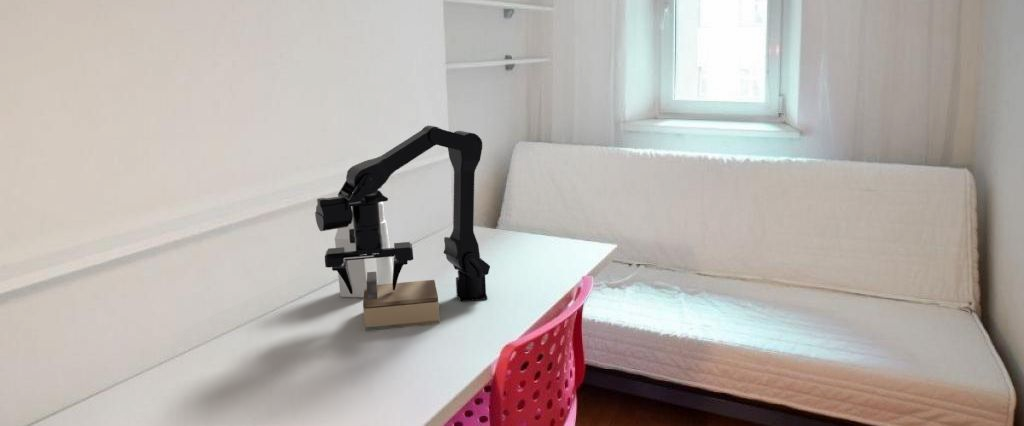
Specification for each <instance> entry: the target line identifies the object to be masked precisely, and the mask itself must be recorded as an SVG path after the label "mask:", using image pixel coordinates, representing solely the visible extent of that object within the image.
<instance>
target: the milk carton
mask: <svg viewBox="0 0 1024 426" xmlns="http://www.w3.org/2000/svg"><path fill="white" fill-rule="evenodd" d="M349 229H354V225H353V220H352V222H351V224H349V225H348V227H344V228H338V229H336V234H335V236H334V242H335V244H334V245H335V248H341V247H344V249H345V252H349V251H356V247H355V243H350V237H349ZM365 255H367V254H365ZM347 263H348V270H349V274H350V279H351V283H352V290H353V294H350V292H349V290H348V288H347V286H346V284H345V282H344V280H343V279H342V277H341V276H340V274H339V273H338V272H337V274H338V284H339V293H340V294H339V295H340V297H341V298H359V299H360V298H361V299H362V298H364V286H367V283H366V282H367V272H376V275H377V266H376V258H370V259H358V260H347ZM377 285H378V278H377Z"/></svg>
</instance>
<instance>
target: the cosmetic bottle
mask: <svg viewBox="0 0 1024 426" xmlns="http://www.w3.org/2000/svg"><path fill="white" fill-rule="evenodd" d="M384 205H385V204H384V202H379V214H380V226H381V235H382V243H383V247H382V249H385V248H391V246H390V238H389V229H388V223H387V220H386V219H385V208H384ZM377 254H379V253H377ZM376 266H377V278H378V285H381V284H392V280H393V260H392V257H381V258H376Z"/></svg>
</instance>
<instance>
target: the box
mask: <svg viewBox="0 0 1024 426" xmlns="http://www.w3.org/2000/svg"><path fill="white" fill-rule="evenodd" d="M439 306H440V305H439V300H438V301H430V302H419V303H408V304H398V305H387V306H376V307H366V308H363V310H362V311H363V319H364V321H363V322H364V329H365V330H364V331H365V332H367V331H368V332H369V331H375V330H377V331H378V330H386V329H397V328H398V329H399V328H407V327H417V326H428V325H437V324H441V322H440V309H439V308H440V307H439Z"/></svg>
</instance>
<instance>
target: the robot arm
mask: <svg viewBox="0 0 1024 426" xmlns="http://www.w3.org/2000/svg"><path fill="white" fill-rule="evenodd" d="M435 146H440V147H443V148H447V152H448V158H449V160H450V163H451V166H452V168H453V214H452V215H453V220H452V221H453V222H452V223H453V224H452V225H453V226H452V227H453V229H452V232H451V234H450V236H445V237H444V238H443V239H444V241H443V242H444V250H443V254H444V255H445V257H446V259H447V261H448V262H449V263H450V264H451V265H452V266H453V268H454V270H456V271H457V277H455V288H456V289H455V291H456V296H457V297H458V298H459V301H460V302H472V301H479V300H487V299H488V295H487V284H486V276H487V275H489V273H490V267H491V266H490V264H489V263H487V262H486V261H485V260H483V259H482V258H481V255H480V254H481V253H480V247H479V243H478V240H477V238H476V235H475V233H474V225H475V224H474V222H475V221H474V220H475V219H474V218H475V216H474V215H475V211H474V210H475V177H476V176H475V172H476V169H477V168H478V165H479V163H480V161H481V157H482V153H483V151H482V150H483V141H482V138H480V136H479V135H477V134H476V133H473V132H467V131H464V130H456V131H454V132H453V131H449V130H446V129H443V128H440V127H439V126H434V125H426V126H424V127H423V128H422V129H421V130H419V131H418V132H416V133H415V134H413V135H411V137H409V138H407V139H406V140H404V141H402V142H401V143H399V144H397V145H396V146H394V147H393V148H391V149H390V150H388V151H386V152H385V153H384V154H382V155H380V156H378V157H375V158H370V159H367V160H364V161H362V162H359V163H358V164H355V165H353V166H351V167H350V168H349V169H348V170H347V173H346V175H345V178H346V180H345V181H344V183H343V184H342V187H341V188H340V190H339V192H338V194H337V196H334V197H328V198H327V197H320V198H317V199H316V201H317V204H316V207H315V212H314V216H315V222H316V225H317V228H318V230H319V231H320V232H325V231H331V230H337V229H338V228H344V227H348V225H349V224H351V222H352V220H353V225H354V229H349V237H350V243H355V247H356V251H349V252H345V249H344V247H341V248H336V247H332V248H328V249H327V250H326V251H325V254H324V265H325V268H331V270H332V271H334V272H335V271H336V272H337V274H338V273H339V274H340V276H341V277H342V279H343V280H344V282H345V284H346V286H347V288H348V290H349V292H350V294H353V290H352V283H351V279H350V274H349V270H348V263H347V260H358V259H370V258H381V257H391V258H392V257H393V262H392V265H393V280H392V284H393V290H395V287H396V283H398V280H399V276H400V273H401V271H402V268H403V266H404V265H408V262H409V261H413V260H414V251H413V244H412V243H411V242H410V241H406V242H405V241H404V242H394V245H393V246H394V247H390V248H385V249H382V247H383V243H382V235H381V226H380V214H379V202H383V203H384V202H388V200H389V197H387V196H385V195H384V194H383V193H382V191H380V188H382V186H384V185H385V184H386V183H387V181H388V180H389V178H390V177H391V175H393V174H394V173H395V172H396V171H398V170H399V169H400V168H402V167H404V166H405V165H407V164H409V163H410V162H411V161H413V160H415V159H416V158H418V157H419V156H421V155H423V154H424V153H425V152H428V151H429V150H430V149H432V148H433V147H435ZM377 253H379V254H377ZM365 254H367V255H365Z"/></svg>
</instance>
